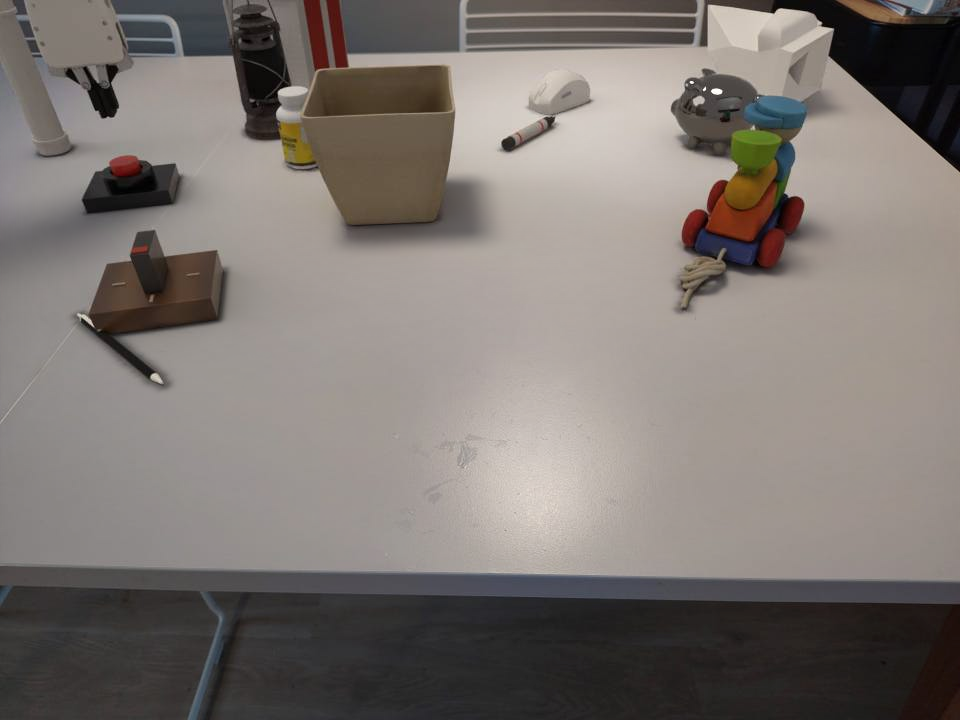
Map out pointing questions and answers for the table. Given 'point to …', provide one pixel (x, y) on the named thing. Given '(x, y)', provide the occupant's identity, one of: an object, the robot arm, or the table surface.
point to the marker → (527, 132)
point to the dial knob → (149, 261)
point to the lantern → (258, 68)
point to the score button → (125, 165)
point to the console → (159, 295)
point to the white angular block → (770, 49)
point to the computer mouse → (559, 92)
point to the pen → (122, 350)
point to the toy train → (749, 196)
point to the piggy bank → (714, 108)
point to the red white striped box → (304, 35)
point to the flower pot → (382, 139)
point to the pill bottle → (294, 128)
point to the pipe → (29, 85)
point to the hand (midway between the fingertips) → (109, 114)
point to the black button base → (131, 188)
